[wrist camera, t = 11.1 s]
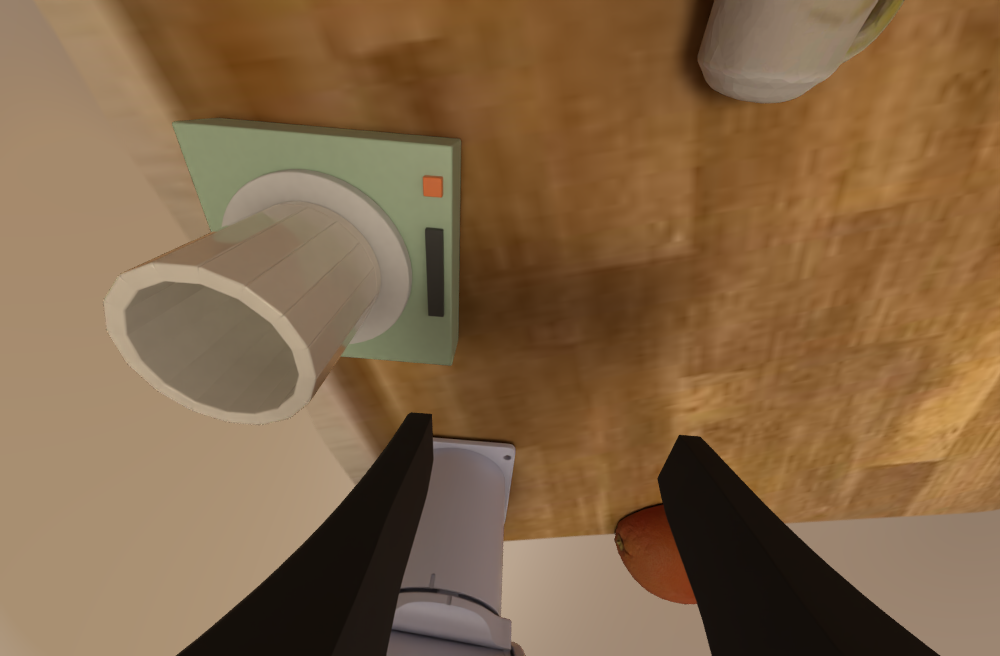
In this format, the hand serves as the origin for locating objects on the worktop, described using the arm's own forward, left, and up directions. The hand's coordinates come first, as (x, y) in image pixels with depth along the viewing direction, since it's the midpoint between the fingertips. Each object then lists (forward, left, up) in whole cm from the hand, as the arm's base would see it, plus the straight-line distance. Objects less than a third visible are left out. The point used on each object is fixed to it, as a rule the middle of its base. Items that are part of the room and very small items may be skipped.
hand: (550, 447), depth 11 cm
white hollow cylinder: (+2, +10, -6) cm, 12 cm away
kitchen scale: (+2, +9, -9) cm, 13 cm away
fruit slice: (-17, -12, -6) cm, 22 cm away
